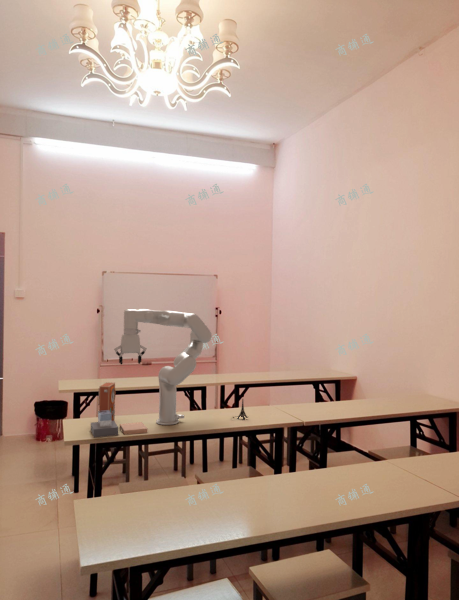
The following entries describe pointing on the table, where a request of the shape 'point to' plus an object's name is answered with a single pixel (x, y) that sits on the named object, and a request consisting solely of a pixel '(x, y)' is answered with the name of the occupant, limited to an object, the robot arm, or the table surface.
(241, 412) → the eiffel tower figurine
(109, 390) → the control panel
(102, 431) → the charcoal stand
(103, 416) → the housing
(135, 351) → the robot arm
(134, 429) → the terracotta stand
